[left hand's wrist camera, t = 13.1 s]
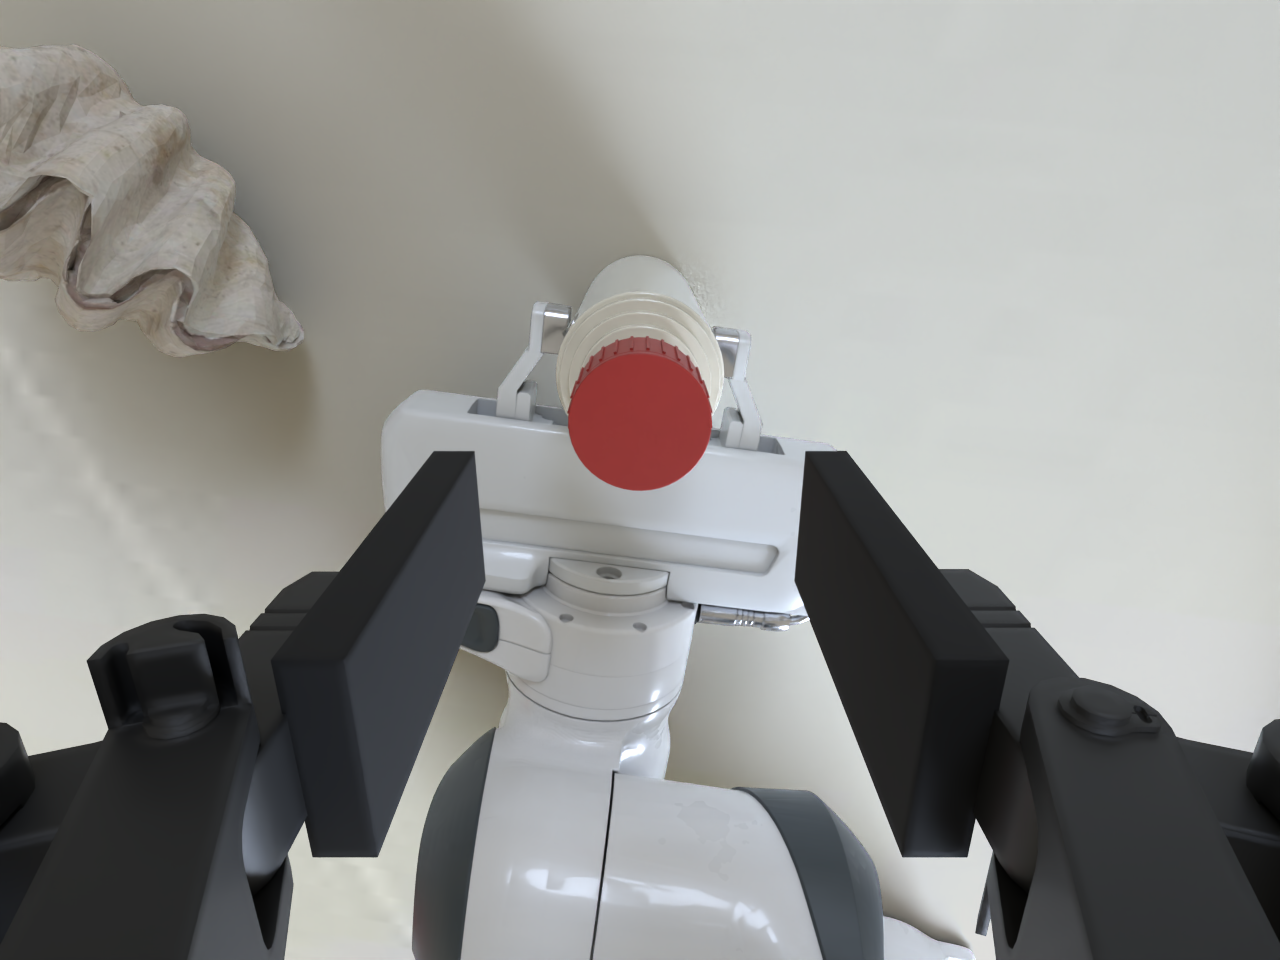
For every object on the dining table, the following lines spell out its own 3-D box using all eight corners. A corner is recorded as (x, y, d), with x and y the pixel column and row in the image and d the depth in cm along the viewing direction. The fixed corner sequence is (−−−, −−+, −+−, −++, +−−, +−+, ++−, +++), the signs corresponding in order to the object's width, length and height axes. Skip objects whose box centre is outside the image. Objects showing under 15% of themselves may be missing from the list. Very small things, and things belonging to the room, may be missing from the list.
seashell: (185, -4, 32) (-1, -81, 23) (343, 328, 37) (244, 375, 28) (-17, 82, 33) (-272, 42, 24) (163, 391, 38) (12, 457, 29)
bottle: (718, 321, 37) (784, 435, 20) (631, 389, 39) (625, 550, 22) (648, 230, 36) (656, 270, 19) (561, 304, 37) (493, 405, 20)
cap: (733, 411, 22) (743, 435, 20) (630, 488, 23) (629, 519, 21) (650, 306, 21) (651, 319, 19) (545, 392, 22) (535, 413, 20)
